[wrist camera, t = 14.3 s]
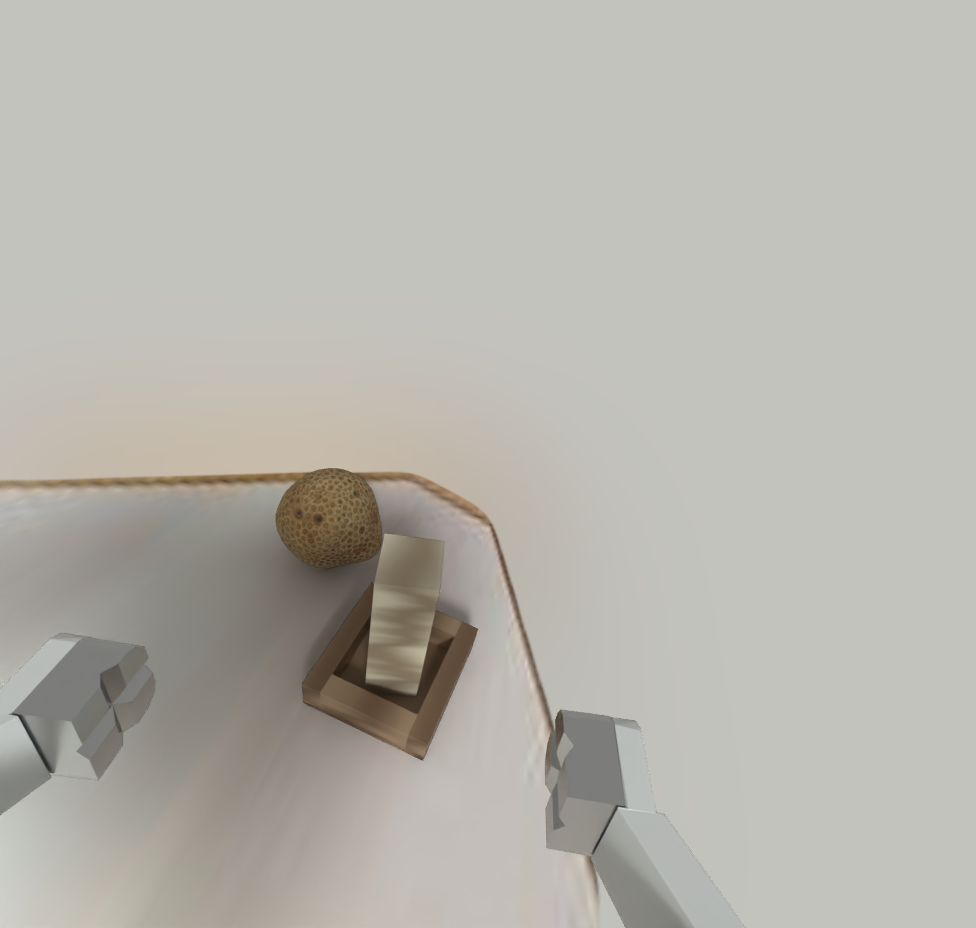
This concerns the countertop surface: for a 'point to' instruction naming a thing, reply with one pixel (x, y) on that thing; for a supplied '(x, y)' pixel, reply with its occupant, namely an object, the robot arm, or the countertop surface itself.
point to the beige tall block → (402, 613)
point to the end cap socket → (385, 715)
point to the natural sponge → (330, 519)
